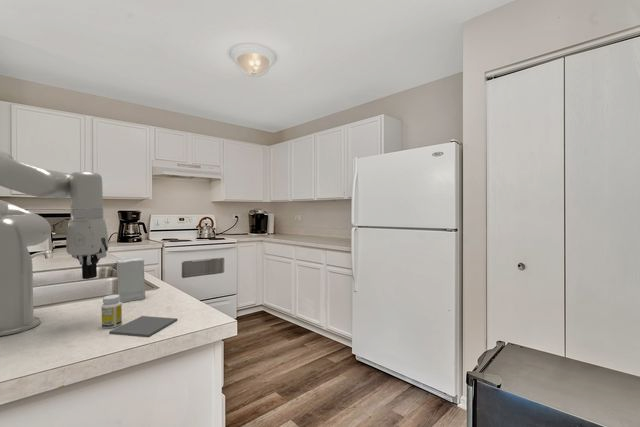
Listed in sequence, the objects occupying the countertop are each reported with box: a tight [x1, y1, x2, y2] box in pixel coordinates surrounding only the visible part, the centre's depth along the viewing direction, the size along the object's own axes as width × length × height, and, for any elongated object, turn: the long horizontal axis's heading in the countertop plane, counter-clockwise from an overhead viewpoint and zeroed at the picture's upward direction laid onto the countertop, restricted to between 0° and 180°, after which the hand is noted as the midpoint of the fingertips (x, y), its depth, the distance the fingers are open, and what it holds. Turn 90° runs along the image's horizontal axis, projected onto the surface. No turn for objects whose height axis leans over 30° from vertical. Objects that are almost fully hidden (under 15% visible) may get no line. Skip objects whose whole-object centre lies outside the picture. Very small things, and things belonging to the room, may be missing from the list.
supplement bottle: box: [101, 294, 123, 329], centre depth 89 cm, size 5×5×8 cm
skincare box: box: [116, 257, 146, 303], centre depth 114 cm, size 8×6×15 cm
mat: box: [108, 315, 178, 338], centre depth 88 cm, size 12×12×1 cm
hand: (89, 277), depth 90 cm, fingers closed
